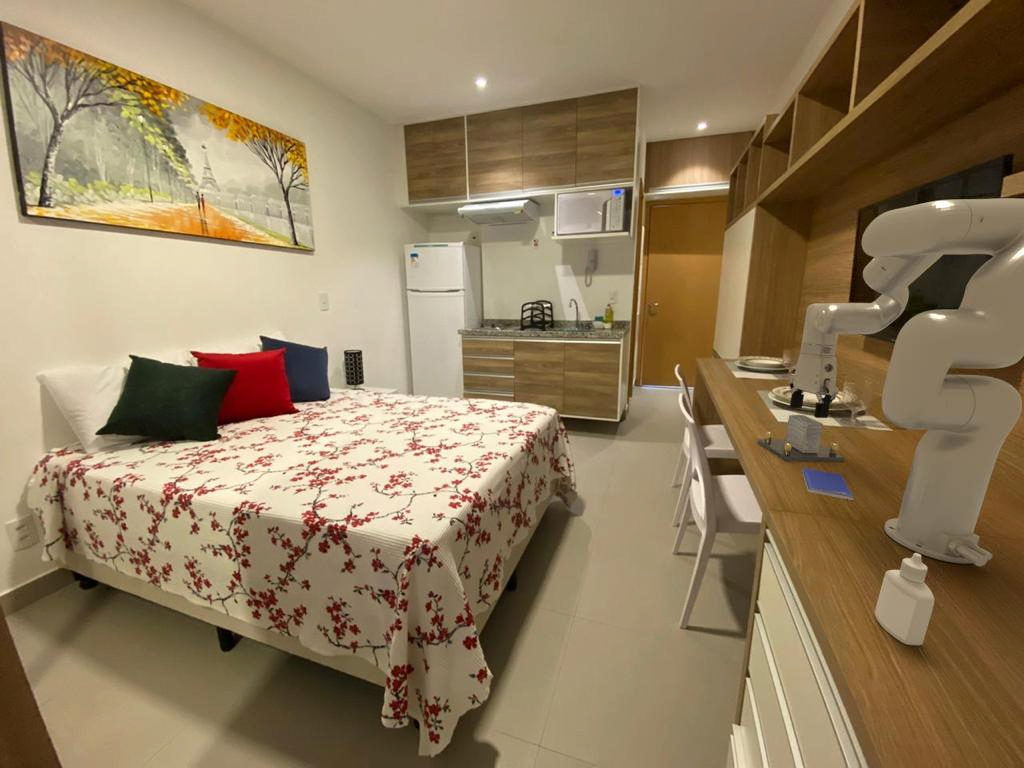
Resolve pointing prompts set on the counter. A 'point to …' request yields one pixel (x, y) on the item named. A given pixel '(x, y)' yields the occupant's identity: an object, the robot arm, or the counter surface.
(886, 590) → the eye dropper bottle
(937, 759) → the counter surface
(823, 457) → the plate
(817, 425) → the medicine box
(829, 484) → the hard drive
